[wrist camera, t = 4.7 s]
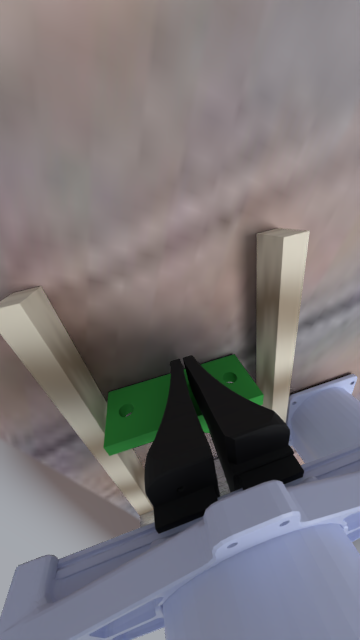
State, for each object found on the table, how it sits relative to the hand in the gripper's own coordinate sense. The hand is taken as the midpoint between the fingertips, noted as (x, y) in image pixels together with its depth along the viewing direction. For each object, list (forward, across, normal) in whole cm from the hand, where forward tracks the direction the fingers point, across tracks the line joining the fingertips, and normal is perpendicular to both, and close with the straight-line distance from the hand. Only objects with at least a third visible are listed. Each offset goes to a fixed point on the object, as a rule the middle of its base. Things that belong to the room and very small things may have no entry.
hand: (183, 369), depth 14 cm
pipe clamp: (+2, +1, +3) cm, 4 cm away
